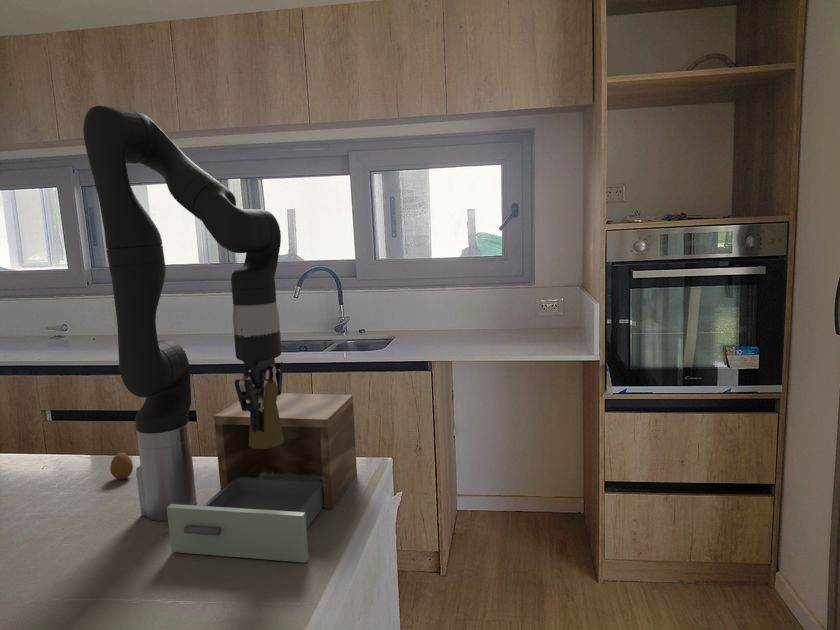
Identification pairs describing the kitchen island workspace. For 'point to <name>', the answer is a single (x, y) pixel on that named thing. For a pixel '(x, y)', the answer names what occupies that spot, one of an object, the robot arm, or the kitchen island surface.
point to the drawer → (249, 520)
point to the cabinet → (294, 442)
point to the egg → (121, 466)
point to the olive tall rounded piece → (268, 421)
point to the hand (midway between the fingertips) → (264, 426)
